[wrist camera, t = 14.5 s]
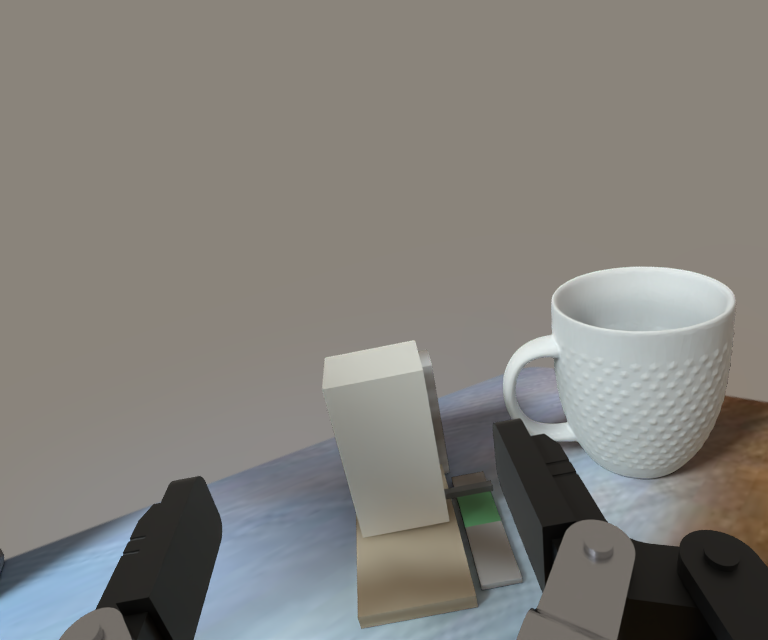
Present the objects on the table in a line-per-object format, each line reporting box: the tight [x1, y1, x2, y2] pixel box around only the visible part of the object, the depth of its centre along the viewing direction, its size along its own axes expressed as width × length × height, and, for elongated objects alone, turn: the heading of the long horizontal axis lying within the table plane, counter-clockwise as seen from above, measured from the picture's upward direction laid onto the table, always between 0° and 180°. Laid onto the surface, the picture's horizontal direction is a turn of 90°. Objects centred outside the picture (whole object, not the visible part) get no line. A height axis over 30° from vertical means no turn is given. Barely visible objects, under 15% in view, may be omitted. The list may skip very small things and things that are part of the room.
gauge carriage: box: [322, 340, 493, 538], centre depth 33 cm, size 4×10×12 cm, turn 94°
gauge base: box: [356, 350, 523, 629], centre depth 33 cm, size 14×10×10 cm
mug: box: [503, 267, 736, 479], centre depth 36 cm, size 15×11×13 cm
